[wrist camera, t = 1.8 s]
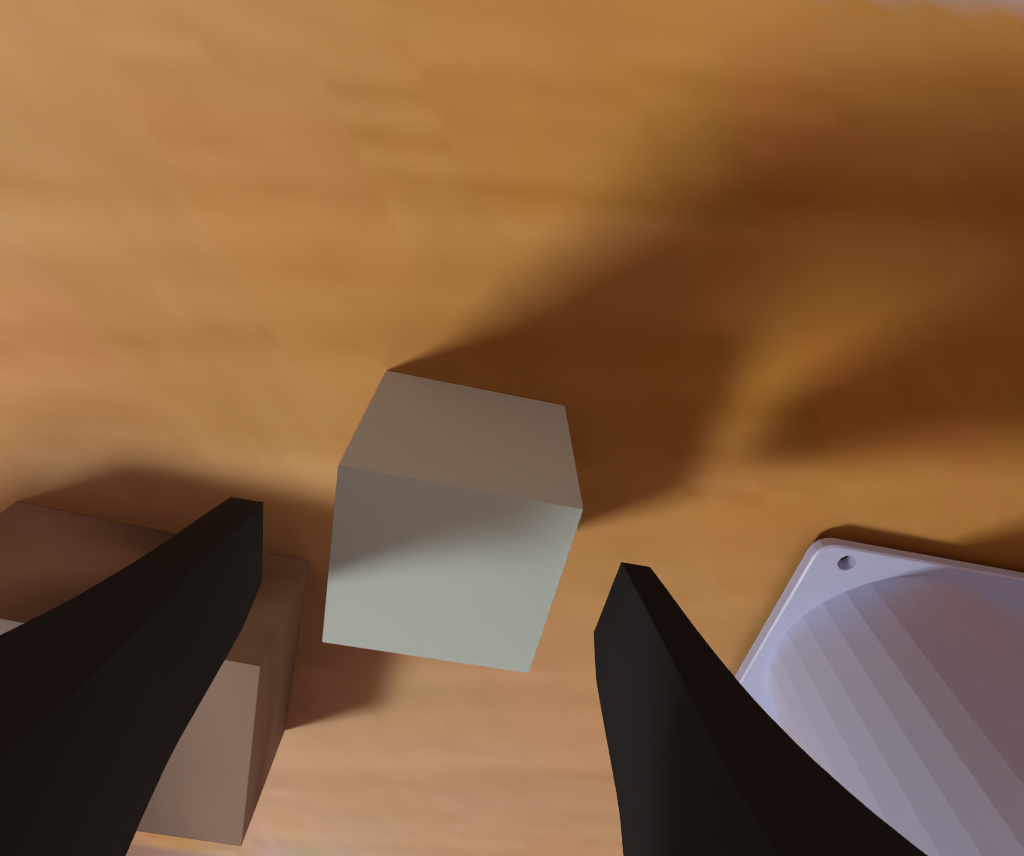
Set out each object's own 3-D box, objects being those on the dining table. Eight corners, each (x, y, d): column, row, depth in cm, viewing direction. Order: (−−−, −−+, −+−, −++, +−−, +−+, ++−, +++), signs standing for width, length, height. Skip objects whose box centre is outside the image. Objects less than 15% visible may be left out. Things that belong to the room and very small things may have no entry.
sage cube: (564, 404, 15) (583, 509, 11) (524, 541, 17) (528, 672, 13) (386, 368, 14) (337, 465, 10) (368, 515, 16) (322, 641, 12)
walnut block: (311, 554, 17) (260, 666, 14) (287, 723, 21) (241, 845, 17) (24, 495, 16) (-111, 598, 13) (50, 682, 20) (-49, 804, 16)
